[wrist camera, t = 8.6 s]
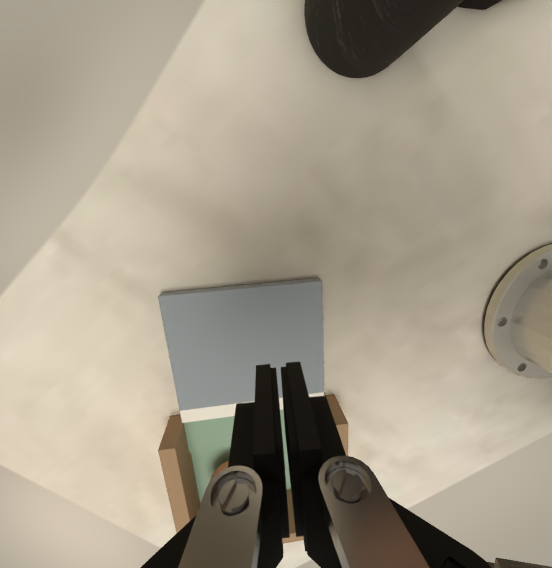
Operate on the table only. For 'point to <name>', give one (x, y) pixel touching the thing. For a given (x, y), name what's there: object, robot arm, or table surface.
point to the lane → (233, 374)
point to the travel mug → (369, 30)
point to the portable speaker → (478, 3)
